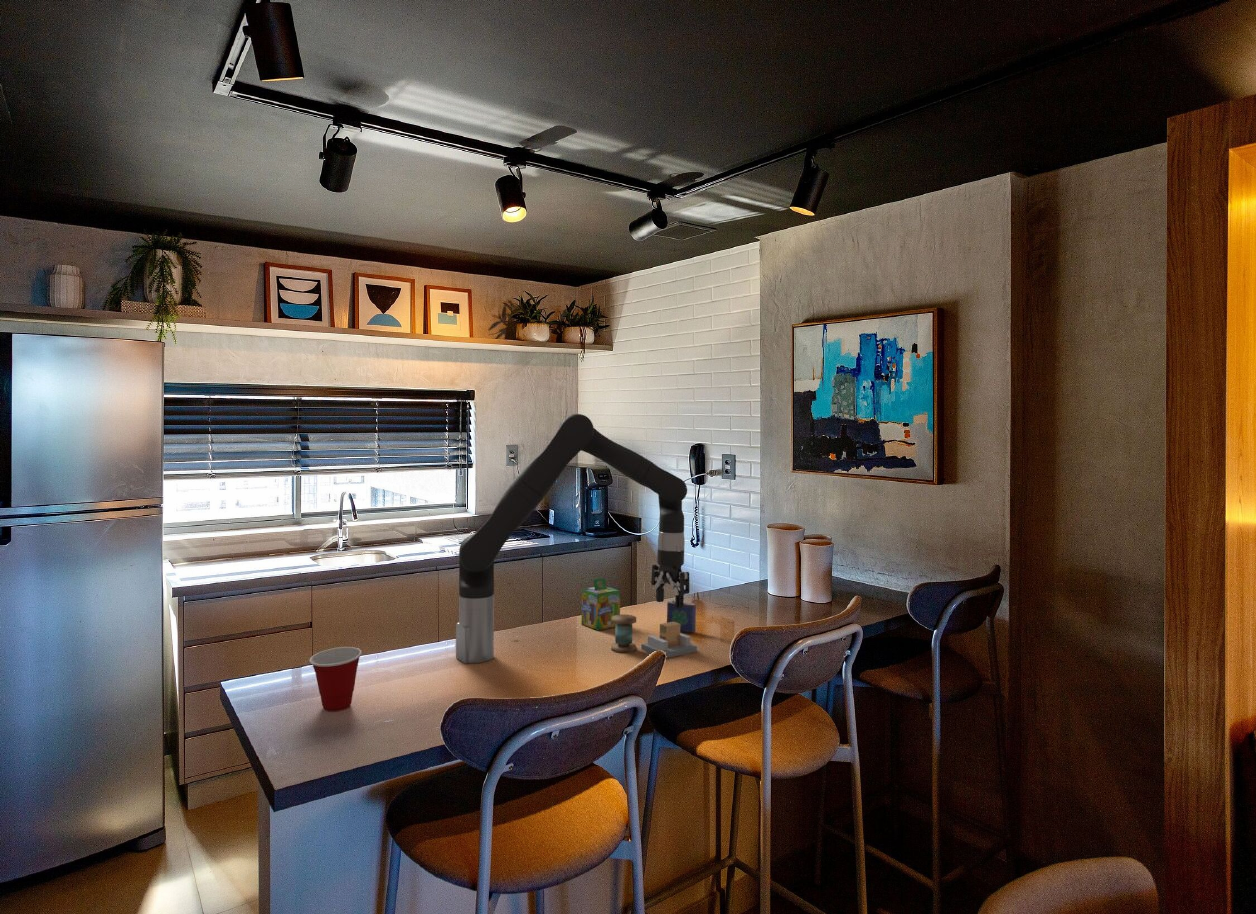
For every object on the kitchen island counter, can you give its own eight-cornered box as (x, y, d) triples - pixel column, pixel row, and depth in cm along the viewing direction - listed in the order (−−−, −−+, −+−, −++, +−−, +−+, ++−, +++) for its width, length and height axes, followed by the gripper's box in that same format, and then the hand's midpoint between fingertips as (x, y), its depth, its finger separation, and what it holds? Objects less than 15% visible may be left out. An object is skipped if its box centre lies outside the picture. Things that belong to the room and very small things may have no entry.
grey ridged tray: (663, 658, 201) (663, 644, 201) (641, 649, 210) (641, 635, 209) (696, 651, 208) (697, 637, 208) (674, 642, 217) (674, 629, 216)
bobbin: (620, 654, 205) (620, 622, 204) (606, 647, 210) (606, 616, 210) (640, 650, 209) (641, 618, 208) (626, 643, 215) (626, 613, 214)
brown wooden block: (666, 647, 206) (666, 626, 206) (659, 645, 209) (659, 623, 209) (680, 644, 209) (680, 623, 209) (673, 642, 212) (673, 621, 212)
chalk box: (597, 631, 227) (598, 583, 227) (580, 624, 234) (580, 578, 234) (621, 626, 233) (621, 579, 233) (603, 620, 240) (603, 574, 240)
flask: (696, 632, 228) (697, 597, 227) (693, 634, 225) (694, 599, 225) (668, 628, 231) (668, 594, 231) (664, 631, 229) (665, 596, 228)
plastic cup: (300, 707, 164) (300, 653, 164) (347, 694, 172) (347, 643, 172) (323, 720, 157) (323, 664, 156) (371, 706, 165) (371, 653, 164)
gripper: (645, 544, 211) (643, 601, 212) (676, 552, 200) (674, 612, 200) (665, 543, 216) (664, 598, 216) (697, 550, 204) (696, 608, 205)
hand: (669, 604), depth 208 cm, fingers open, 8 cm apart
